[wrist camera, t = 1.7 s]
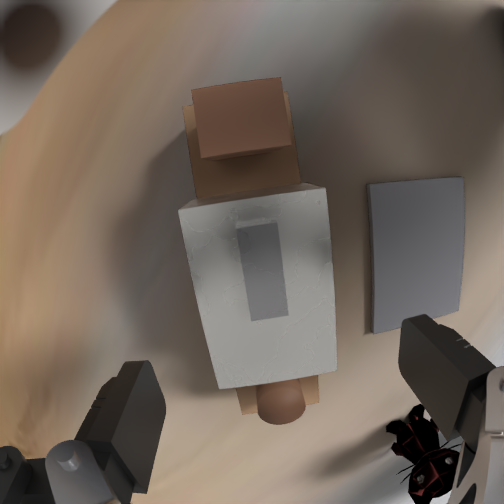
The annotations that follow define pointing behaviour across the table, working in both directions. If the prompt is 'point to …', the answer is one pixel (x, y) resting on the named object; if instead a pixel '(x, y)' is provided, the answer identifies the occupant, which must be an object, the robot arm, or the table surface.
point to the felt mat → (415, 249)
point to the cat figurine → (424, 456)
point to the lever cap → (263, 282)
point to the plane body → (248, 178)
